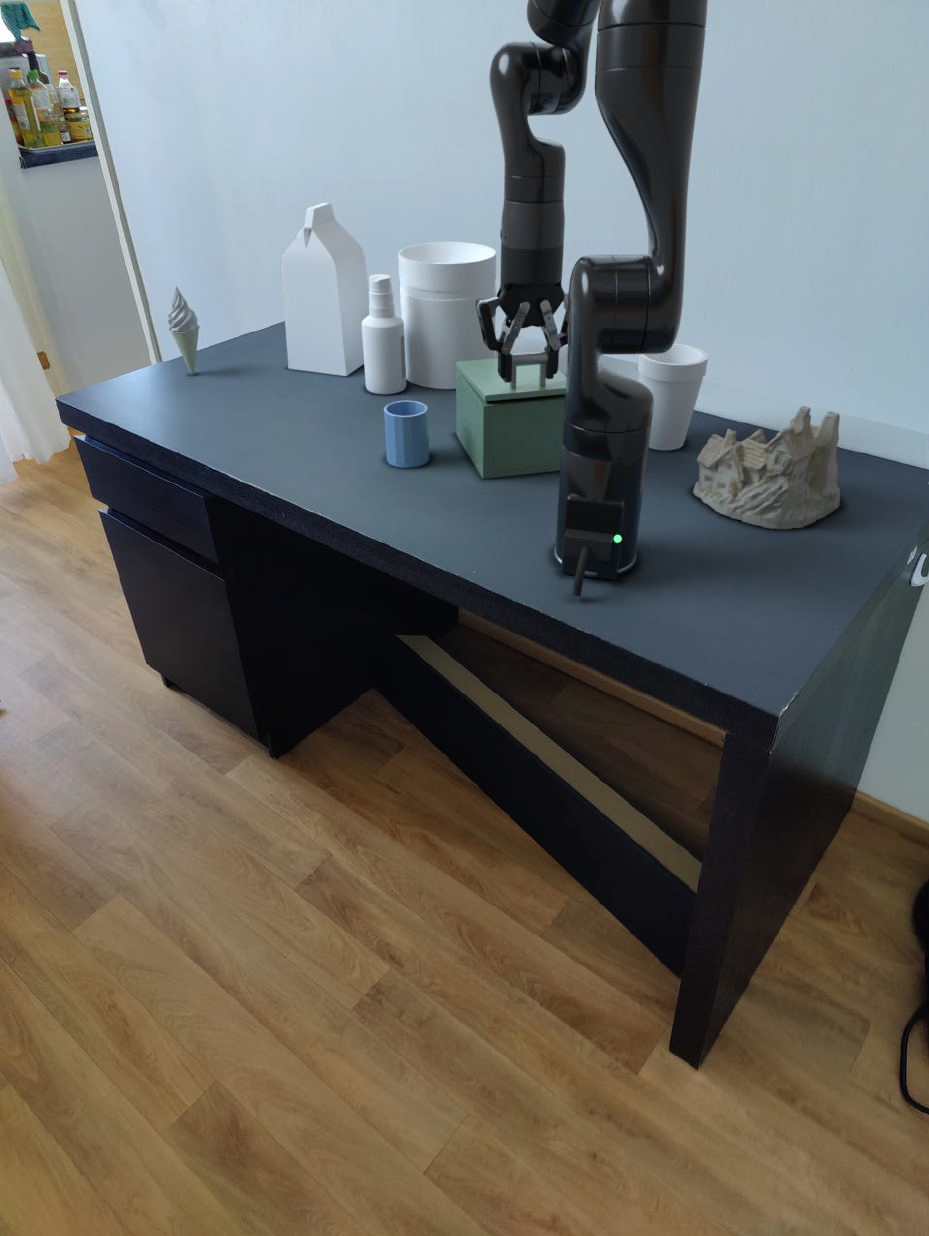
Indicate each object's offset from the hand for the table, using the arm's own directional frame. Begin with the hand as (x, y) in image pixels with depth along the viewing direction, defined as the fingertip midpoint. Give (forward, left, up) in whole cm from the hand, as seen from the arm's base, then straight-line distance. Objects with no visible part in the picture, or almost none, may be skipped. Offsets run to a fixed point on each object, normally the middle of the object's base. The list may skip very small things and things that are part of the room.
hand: (527, 378), depth 115 cm
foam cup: (+15, -17, -13) cm, 26 cm away
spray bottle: (+25, +30, -13) cm, 41 cm away
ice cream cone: (+22, +65, -13) cm, 70 cm away
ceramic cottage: (0, -32, -13) cm, 35 cm away
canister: (+35, +22, -13) cm, 43 cm away
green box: (+6, +3, -13) cm, 14 cm away
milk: (+35, +44, -13) cm, 58 cm away
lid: (+5, +3, -2) cm, 6 cm away
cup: (-1, +17, -13) cm, 21 cm away
